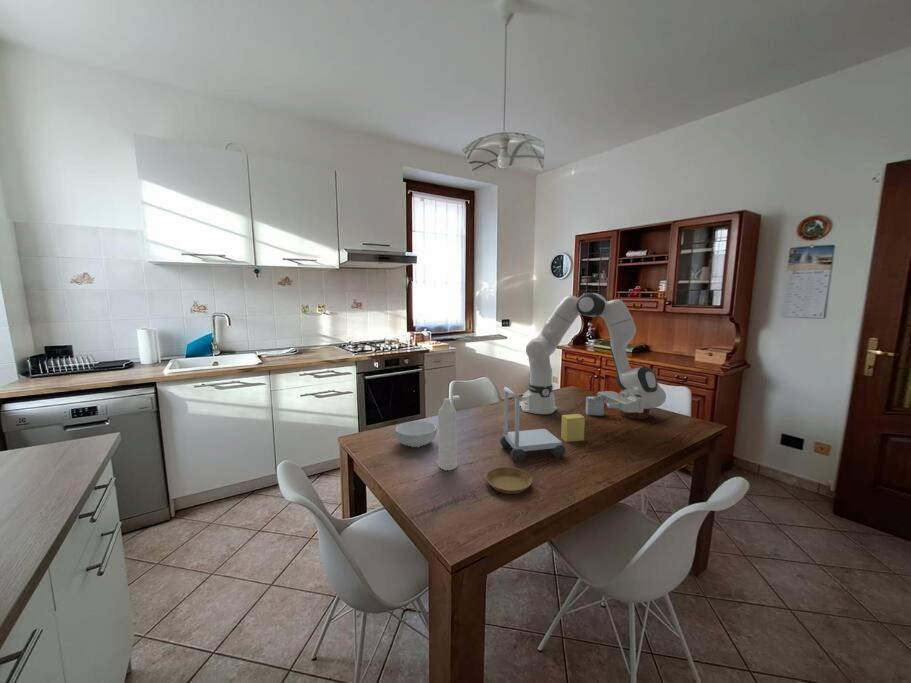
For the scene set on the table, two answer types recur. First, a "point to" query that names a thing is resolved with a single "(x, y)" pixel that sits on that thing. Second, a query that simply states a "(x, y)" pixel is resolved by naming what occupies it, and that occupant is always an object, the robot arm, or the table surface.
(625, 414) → the food container
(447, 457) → the water bottle
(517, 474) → the plant saucer
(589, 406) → the medicine box
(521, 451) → the trolley
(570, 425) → the yellow rectangular block
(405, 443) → the cereal bowl
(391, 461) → the table surface
